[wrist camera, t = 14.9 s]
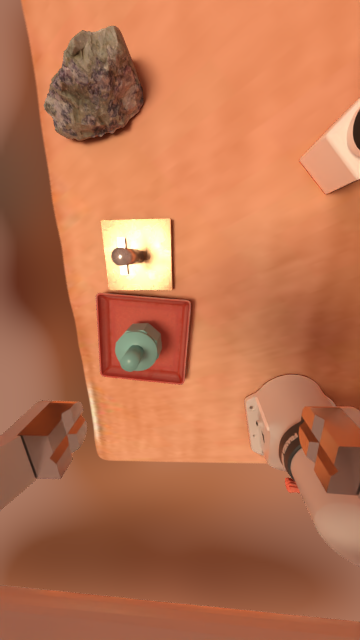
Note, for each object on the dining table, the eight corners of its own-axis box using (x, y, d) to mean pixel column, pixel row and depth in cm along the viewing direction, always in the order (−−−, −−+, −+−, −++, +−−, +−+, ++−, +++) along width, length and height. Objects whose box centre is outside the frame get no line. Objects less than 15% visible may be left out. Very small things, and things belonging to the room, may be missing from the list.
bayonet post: (172, 288, 39) (164, 300, 29) (112, 288, 40) (84, 299, 30) (171, 220, 35) (161, 205, 25) (104, 221, 36) (69, 208, 26)
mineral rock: (64, 143, 33) (11, 98, 23) (60, 55, 30) (-3, -40, 20) (142, 153, 33) (120, 110, 23) (147, 64, 29) (123, -29, 20)
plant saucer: (102, 289, 40) (94, 292, 37) (191, 296, 40) (191, 300, 36) (106, 368, 46) (99, 376, 43) (185, 376, 45) (184, 385, 42)
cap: (159, 322, 38) (149, 341, 30) (162, 357, 40) (154, 384, 32) (121, 324, 39) (101, 342, 30) (127, 358, 41) (109, 384, 33)
